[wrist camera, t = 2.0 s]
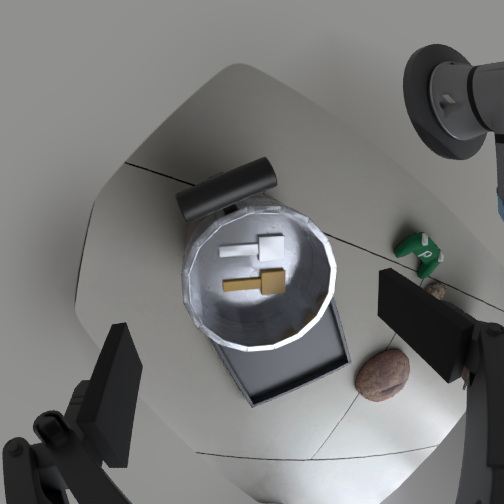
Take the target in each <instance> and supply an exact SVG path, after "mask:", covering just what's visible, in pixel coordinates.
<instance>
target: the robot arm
mask: <svg viewBox="0 0 504 504" xmlns="http://www.w3.org/2000/svg"><path fill="white" fill-rule="evenodd" d="M427 97H428V103H429V106H430V110H431V112H432V115H433V117H434V119H435V121H436V123H437V124H438V126H439V127H440V128H441V130H442V131H443V132H444V133H445V134H447V135H448V136H449V137H451V138H453V139H456V140H470V139H473V138H475V137H477V136H478V135H481V134H484V133H487V132H489V131H493V132H494V133H495V145H496V158H497V179H498V187H497V196H498V211H499V214H500V216H501V218H502V220H503V221H504V62H497V63H491V64H485V65H479V66H472V65H467V64H463V63H458V62H443V63H440V64H437V65H436V66H435V67H434V68H433V69H432V70H431V72H430V74H429V77H428V81H427ZM378 316H379V317H380V318H381V319H382V320H383V321H384V322H385V323H386V324H387V325H388V326H389V327H390V328H391V329H393V330H394V331H395V332H396V333H397V334H398V335H399V336H400V337H401V338H402V339H403V340H404V341H405V342H406V343H407V344H408V345H409V346H410V347H411V348H412V349H413V350H414V351H416V352H417V353H418V354H419V355H420V356H421V357H422V358H423V359H424V360H425V361H426V362H427V363H428V364H429V365H430V366H431V367H432V368H433V369H434V370H435V371H436V372H437V373H438V374H439V375H440V376H441V377H442V378H443V379H444V380H445V381H446V382H447V383H448V384H449V383H451V382H453V381H454V380H456V379H458V378H460V377H461V374H462V371H463V368H464V367H466V368H467V369H468V370H469V371H468V374H467V377H466V380H465V383H464V386H463V390H465V388H466V386H467V410H466V430H465V442H464V453H463V462H462V469H461V477H460V482H459V488H458V494H457V500H456V504H504V327H503V326H502V325H500V324H497V323H492V322H491V323H485V324H482V323H480V322H479V321H477V320H476V319H475V318H473V317H472V316H470V315H469V314H467V313H464V311H463V310H461V309H459V308H458V307H457V306H455V305H454V304H452V303H450V302H447V301H445V300H439V299H438V298H436V297H435V296H433V295H432V294H430V293H429V292H427V291H426V290H424V289H423V288H421V287H420V286H418V285H416V284H415V283H413V282H412V281H410V280H409V279H407V278H406V277H404V276H403V275H401V274H400V273H398V272H396V271H395V270H393V269H392V268H388V269H384V270H380V271H379V292H378ZM142 368H143V366H142V363H141V361H140V358H139V356H138V353H137V351H136V348H135V345H134V343H133V340H132V337H131V335H130V332H129V329H128V326H127V324H126V322H125V323H119V324H112V326H111V328H110V331H109V333H108V336H107V338H106V340H105V343H104V345H103V348H102V350H101V353H100V355H99V358H98V360H97V363H96V366H95V368H94V371H93V373H92V376H91V379H90V380H82V381H81V382H80V383H79V384H78V385H77V387H76V388H75V389H74V392H73V394H72V398H71V400H70V402H69V405H68V407H67V410H66V413H65V415H64V416H63V415H62V414H61V413H60V412H58V411H55V410H53V411H47V412H44V413H42V414H41V415H40V416H38V417H37V418H36V420H35V421H34V425H33V430H34V432H35V434H36V435H37V436H38V438H39V439H40V440H41V441H42V443H38V444H34V445H30V444H29V443H28V442H27V441H26V440H25V439H24V438H21V437H16V438H13V439H11V440H9V441H8V442H7V443H6V444H5V446H4V448H3V474H4V485H5V495H6V503H7V504H69V501H68V498H67V494H66V491H65V489H70V491H71V492H72V494H73V495H74V497H75V498H76V500H77V501H78V503H79V504H132V503H131V502H130V501H129V500H128V498H127V497H126V496H125V495H124V494H123V493H122V492H121V490H120V489H119V488H118V487H117V486H116V485H115V484H114V482H113V481H112V480H111V479H110V477H109V476H108V475H107V474H106V473H105V472H104V470H103V469H102V468H101V467H102V461H103V460H104V462H105V463H106V464H107V465H108V467H109V468H127V466H128V457H129V449H130V442H131V435H132V428H133V421H134V414H135V408H136V402H137V396H138V390H139V384H140V379H141V373H142Z"/></svg>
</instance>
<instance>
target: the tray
mask: <svg viewBox="0 0 504 504" xmlns="http://www.w3.org/2000/svg"><path fill="white" fill-rule="evenodd" d="M210 339H211V338H210ZM211 341H212V343H213V344H214V346H215V348H216V350H217V351H218V353H219V355H220V357H221V358H222V360H223V362H224V363H225V365H226V367H227V368H228V370H229V372H230V373H231V375H232V377H233V378H234V380H235V382H236V383H237V385H238V386H239V388H240V390H241V391H242V393H243V395H244V396H245V398H246V399H247V401H248V402H249V404H250V406H251V407H252V408H253V407H255V406H258V405H260V404H263V403H265V402H268V401H270V400H273V399H275V398H278V397H280V396H282V395H285V394H287V393H290V392H292V391H294V390H296V389H299V388H301V387H303V386H305V385H308V384H310V383H312V382H314V381H316V380H318V379H320V378H323V377H325V376H327V375H329V374H331V373H333V372H335V371H337V370H339V369H341V368H343V367H345V366H347V365H349V364H351V363H352V362H351V358H350V355H349V351H348V347H347V343H346V340H345V336H344V333H343V329H342V325H341V322H340V318H339V315H338V311H337V308H336V305H335V301H334V298H333V297H332V299H331V301H330V303H329V304H328V306H327V308H326V310H325V312H324V314H323V316H322V318H320V320H319V321H318V322H317V323H316V324H315V325H314V326H313V327H312V328H311V329H310V330H308V331H307V332H306V333H305V334H304V335H303V336H302V337H301V338H299V339H297V340H295V341H292V342H290V343H288V344H286V345H284V346H281V347H279V348H277V349H273V350H263V351H252V352H247V351H246V352H244V351H241V350H237V349H233V348H229V347H225V346H222V345H220V344H218V343H216V342H215V341H214V340H212V339H211Z"/></svg>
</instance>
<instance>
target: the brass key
mask: <svg viewBox="0 0 504 504" xmlns="http://www.w3.org/2000/svg"><path fill="white" fill-rule="evenodd" d="M260 273H261V278H253V279H242V280H231V281H223V290H224V292H229V291H240V290H251V289H261V294H262V296H263V295H272V294H281V293H285V280H286V271H285V270H284V269H279V270H269V271H261V272H260Z"/></svg>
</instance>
